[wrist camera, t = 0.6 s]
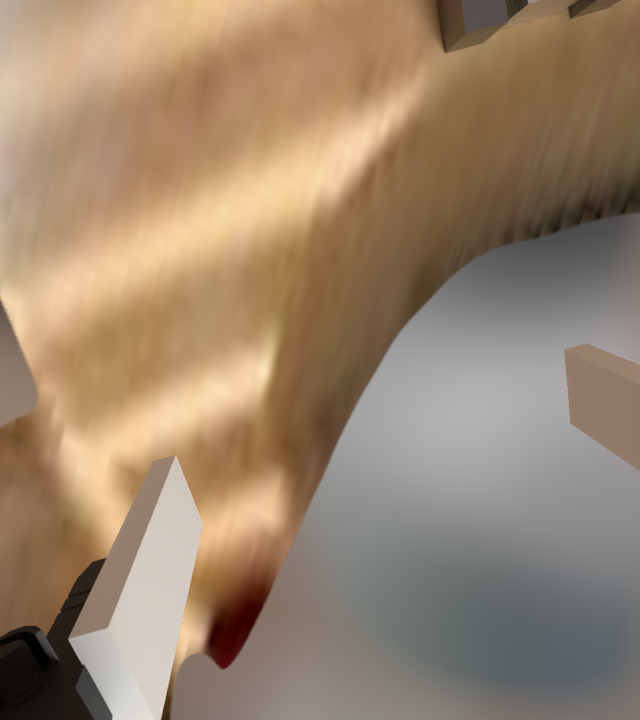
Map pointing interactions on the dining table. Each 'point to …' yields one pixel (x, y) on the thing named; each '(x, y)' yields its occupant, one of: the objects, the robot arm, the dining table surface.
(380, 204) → the dining table surface
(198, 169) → the dining table surface
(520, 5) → the light gray cube
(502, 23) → the dark grey cubes
